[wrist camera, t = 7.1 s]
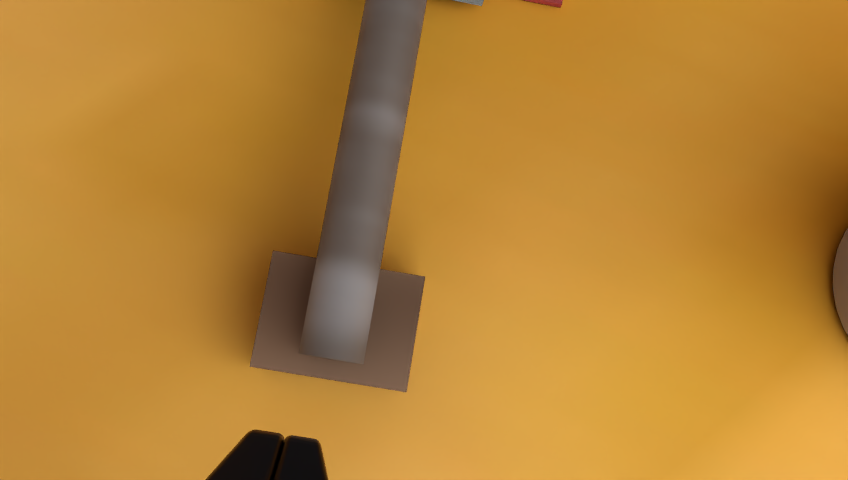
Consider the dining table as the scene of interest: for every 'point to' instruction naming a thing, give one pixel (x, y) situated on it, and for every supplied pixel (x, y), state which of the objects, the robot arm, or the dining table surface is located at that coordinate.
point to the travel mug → (841, 281)
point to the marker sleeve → (472, 2)
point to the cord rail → (355, 231)
